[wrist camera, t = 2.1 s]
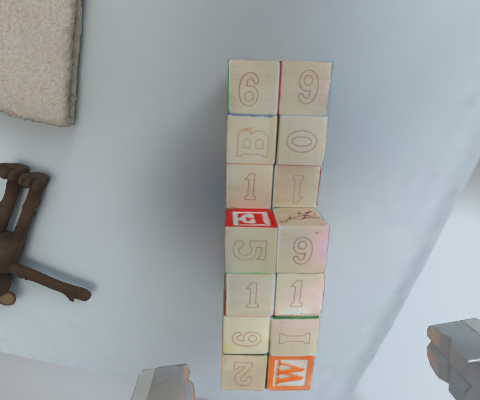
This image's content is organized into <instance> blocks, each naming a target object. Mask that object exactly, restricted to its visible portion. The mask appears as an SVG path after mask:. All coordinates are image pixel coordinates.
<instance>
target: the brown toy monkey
mask: <svg viewBox="0 0 480 400" xmlns="http://www.w3.org/2000/svg"><path fill="white" fill-rule="evenodd" d="M28 172H29V168H28V167H27V166H25V165H22V164H19V163H0V177H1V178H3V179H7V180H8V181H7V183H6V190H5V194H4V196H3V199H2V201H1V202H0V303H1V304H2V305H12V304H14V303H15V301H16V296H15V294H14V293H13V292H10V291H9V289H10V287H11V277H10V276H9V275H8V274H7V273H12V274H15V275H16V276H18V277H19V278H24V279H25V280H30V281H33V282H36V283H39V284H41V285H44V286H46V287H48V288H51V289H53V290H56V291H59V292H61V293H63V294H65V295H66V296H67V297H68V299H69V300H70V301H72V302H73V301H74V298H76V299H79V300H82V301H87V300H89V299H90V297H91V292H90V291H88V290H87V289H85V288H82V287H78V286H75V285H71V284H68V283H65V282H62V281H60V280H57V279H55V278H53V277H50V276H48V275H46V274H43V273H41V272H39V271H36V270H34V269H32V268H30V267H27V266H25V265H22V264H20V263H18V259H19V257H20V255H21V251H22V249H23V247H24V243H25V242H24V240H25V238H26V235H27V232H28V230H29V227H30V224H31V222H32V219H33V217H34V216H35V214H36V208H37V206H38V205H39V203H40V198H41V195H42V192H43V189H44V187H45V185H46V184H47V182H48V181H49V176H48V175H46V174H43V173H40V172H34V173H28ZM22 186H23V187H24V188H30V189H29V192H28V195H27V198H26V200H25V202H24V204H23V206H22V212H21V215H20V217H19V220H18V223H17V226H16V228H15V231H14V233H12V232H9V231H6V228H7V225H8V223H9V220H10V217H11V214H12V212H13V209H14V206H15V203H16V201H17V198H18V195H19V192H20V190H21V187H22Z"/></svg>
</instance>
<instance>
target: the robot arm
mask: <svg viewBox="0 0 480 400" xmlns="http://www.w3.org/2000/svg"><path fill="white" fill-rule="evenodd" d="M427 336H428V337H429V339H431V342H430V344H429V345H428V346H427V356H428V359H429V362H430V365H431V367H432V369H433V370H434V372H435V373H436V375H437V376H438V377H439V378H440V379H442V380H443V381H445V382H447V383H449V392H450V393H451V394H452V395H453V397H454V398H455V399H456V400H480V320H479V319H476V318H472V319H466V320H460V321H455V322H449V323H443V324H437V325H432V326H429V327H428V329H427ZM189 376H190V371H189V367H188V365H187V364H179V365H171V366H163V367H157V368H151V369H143V370H142V371H141V373H140V374H139V377H138V380H137V383H136V386H135V389H134V392H133V395H132V398H131V400H195V390H194V386H193V383H192V382H191V381H190V380H189Z"/></svg>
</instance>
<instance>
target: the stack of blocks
mask: <svg viewBox="0 0 480 400" xmlns="http://www.w3.org/2000/svg"><path fill="white" fill-rule="evenodd" d="M332 66H333V64H332V62H311V61H286V60H283V61H268V60H240V59H229V60H228V114H227V153H226V210H225V276H224V302H223V330H222V373H221V389H222V390H254V391H264V389H265V388H266V389H267V390H273V391H276V390H309V389H311V383H312V374H313V366H314V358H315V356H314V355H316V353H317V344H318V334H319V323H320V318H319V315H320V314H321V313H322V306H323V296H324V286H325V270H326V261H327V252H328V243H329V232H330V226H329V225H328V224H327V222H326V221H325V220H324V218H323V217H322V216H321V214H320V213H319V212H318V210H317V202H318V193H319V184H320V175H321V166H322V165H323V160H324V153H325V145H326V136H327V126H328V116H327V110H328V102H329V93H330V85H331V76H332Z"/></svg>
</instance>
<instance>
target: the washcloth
mask: <svg viewBox="0 0 480 400" xmlns="http://www.w3.org/2000/svg"><path fill="white" fill-rule="evenodd" d="M81 23H82V3H81V0H0V111H4V112H5V113H6V114H7V115H8V116H14V117H18V118H20V119H24V120H31V121H32V122H39V123H47V124H49V125H55V126H58V127H68V126H70V125H71V124H74V122H73V120H74V117H75V116H74V113H75V111H74V107H75V100H76V99H77V96H76V95H75V94H76V93H75V92H76V88H77V69H78V62H79V61H78V57H79V50H80V46H81V43H80V36H81V34H82V30H81V29H82V25H81ZM75 96H76V97H75Z"/></svg>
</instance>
